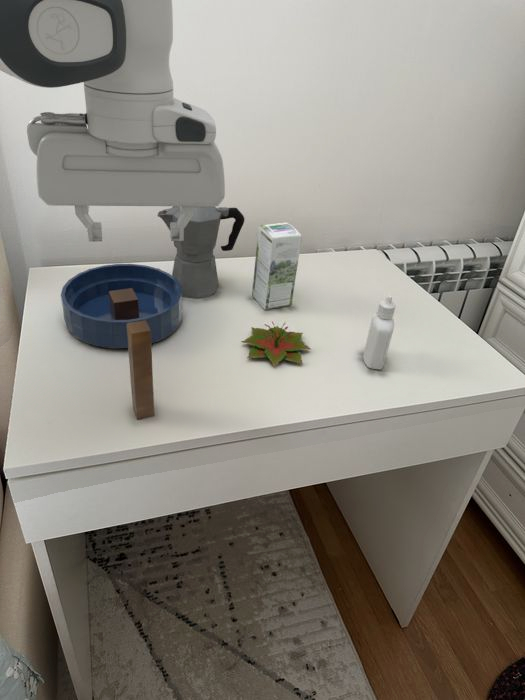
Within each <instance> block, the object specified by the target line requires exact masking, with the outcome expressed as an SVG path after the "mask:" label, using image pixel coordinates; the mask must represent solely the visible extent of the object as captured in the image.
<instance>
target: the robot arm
mask: <svg viewBox="0 0 525 700" xmlns="http://www.w3.org/2000/svg"><path fill="white" fill-rule="evenodd" d="M173 16H174V14H173V0H0V71H1V72H3V73H4V74H7V75H9V76H11V77H12V78H15V79H17V80H19V81H22V82H23V83H25V84H28V85H31V86H33V87H39V88H45V89H55V88H61V87H67V86H73V85H77V84H82V83H83V91H84V98H85V99H84V101H85V111H86V112H85V113H83V112H82V113H81V112H80V113H77V112H76V113H73V112H68V113H67V112H66V113H55V112H51V111H45V112H40V114H39V115H38V116H35V117H32V118H31V119H30V121H29V122H28V124H27V127H26V133H27V135H26V136H27V140H28V146H29V148H30V150H31V152H32V153H33V154H34V155H35V156H36V185H37V194H38V198H40V200H41V201H42V202H44V204H46V205H47V206H57V207H58V206H59V207H60V206H61V207H63V206H65V207H66V206H68V207H69V206H70V207H71V206H73V207H74V212H75V216H76V217H77V218H78V219H79V221H80V222H81V223H82V225H83V226H84V228H85V229H86V230H87V238H88V242H92V243H93V242H103V231H102V222H101V221H99V222H96V221H94V220H93V218H92V217H91V216H90V214H89V211H90V207H173V206H180V210H181V216H180V217H179V219H178V221H177V222H170V229H171V231H170V230H169V234H170V235H169V236H170V241H171V242H173V241H183V240H184V228H185V227H186V225H187V224H188V222H189V221H190V219H191V218H192V216H193V206H201V207H216V208H217V207H219V205H220V204H221V203H222V202H223V201H224V199H225V197H226V196H225V194H226V193H225V192H226V185H225V184H226V182H225V181H226V180H225V170H224V169H225V168H224V162H223V157H222V154H221V152H220V150H219V147H218V145H217V144H216V142H215V140H216V137H217V125H216V122H215V120H214V118H213V117H212V116H211V114H210V113H209V112H208V111H206V110H205V109H203V108H202V107H199V106H195V105H193V104H191V103H188V102H185V101H183V100H180V99H178V98H176V97H174V81H173V77H172V74H171V73H172V72H171V67H170V55H171V50H172V47H173V42H174V41H173V40H174V20H173V19H174V17H173ZM39 121H40V122H39Z"/></svg>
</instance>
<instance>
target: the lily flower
mask: <svg viewBox="0 0 525 700" xmlns="http://www.w3.org/2000/svg"><path fill="white" fill-rule="evenodd" d="M271 325H273V327H271V326H270V325H268V324H266V323H264V326H266V327H268V328H269V329H266V328H260V327H252V326H251V334H252V335H251V336H248V337H247V338H245V340H242V341H241V343H244V344H248V345H251V346H252V347H251V348H250V349H249V352H248V356H247V357H246V359H254V358H256V359H258V358H268V359H269V361H270V363H272V364H273V367H274V368H276V366H277V365H278V364H279V363H280V362H281V361H283V360H286V361H289V362H294V363H296V364H301V365H304V363H303V359H302V354H301V353H300V350H312V348H310V347H309V346H308V345H307V344H305V342H303V340H301V339H302V337H303V334H304V332H298V331H297V332H295V331H287V329H288V328H289V326H285V325H286V322H284V323H283V324H282V326H281V327H279V323H278V325H276V326H275V324H274V322H273V321H272V320H271ZM284 326H285V327H284Z"/></svg>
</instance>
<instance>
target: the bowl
mask: <svg viewBox="0 0 525 700" xmlns="http://www.w3.org/2000/svg"><path fill="white" fill-rule="evenodd" d="M128 288H133V290H134V292H135V294H136V296H137V298H138V306H139V318H136V319H130V320H114V318H113V316H112V314H111V311H110V301H109V291H114V290H121V289H128ZM60 299H61V306H62V307H61V308H62V313H63V319H64V323H65V325H66V326H65V327H66V329H67V330H68V332H69V333H70V334H71V335H72V336H73V337H75V338H76V339H78V340H80V341H82V342H83V343H86V344H89V345H92V346H96V347H101V348H108V349H128V337H127V323H132V322H138V321H144V320H146V322H147V324H148V326H149V328H150V330H151V344H154V343H157V342H159V341H162V340H163V339H165V338H167V337H169V336H170V335H172V334H173V333H174V332H175V331H176V330H177V329H178V328H179V327H180V325H181V322H182V320H183V296H182V288H181V285H180V284H179V282H178V281H177V279H176V278H174V277H173V276H172V274H170V273H169V272H166V271H165V270H162V269H160V268H158V267H153V266H149V265H145V264H137V263H114V264H113V263H112V264H105V265H100V266H96V267H92V268H89V269H86V270H83V271H82V272H79V273H77V274H76V275H74V276H73V277H70V279H68V280H67V281H66V283H65V284H64V285H63V286H62V289H61V292H60Z"/></svg>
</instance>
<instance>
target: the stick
mask: <svg viewBox="0 0 525 700" xmlns="http://www.w3.org/2000/svg"><path fill="white" fill-rule="evenodd" d="M127 337H128V348H127V351H128V362H129V375H130V376H129V377H130V386H131V387H130V388H131V389H130V390H131V402H132V410H133V414H134V415H135V417H136V420H143V419H147V418H152V417H154V416H155V397H154V396H155V395H154V373H153V353H152V352H153V349H152V343H151V330H150V328H149V326H148V324H147V322H146V320H144V321H138V322H132V323H127Z"/></svg>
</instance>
